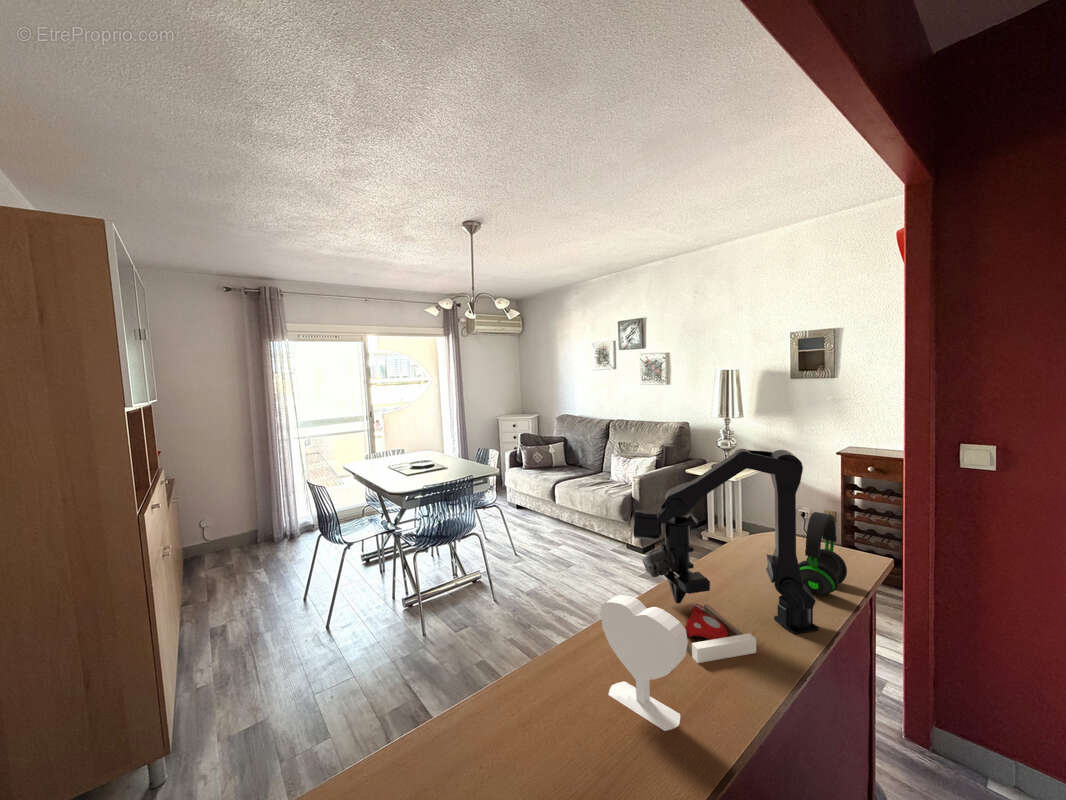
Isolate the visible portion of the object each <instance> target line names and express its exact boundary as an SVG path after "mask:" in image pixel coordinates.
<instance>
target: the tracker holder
mask: <svg viewBox="0 0 1066 800" xmlns="http://www.w3.org/2000/svg"><path fill="white" fill-rule="evenodd" d="M692 607H693V608H692V610H691V614H690V617H689V618H688V619H687V622H686V624H685V626H684V628H685V629H686V634H687V637H688V638H692V637H694V636H695V637H703V638H706V639H707V640H713V639H719V638H725V637H729V633H728V631H727V629H726V628H725V627H724V625H723V624H722V623H720V622H719V621H718V620H716V619H715V618H713V617H712V616H709V615H708V614H707V613H705V609H704V605H701V604H698V603H696V602H693V603H692Z"/></svg>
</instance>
